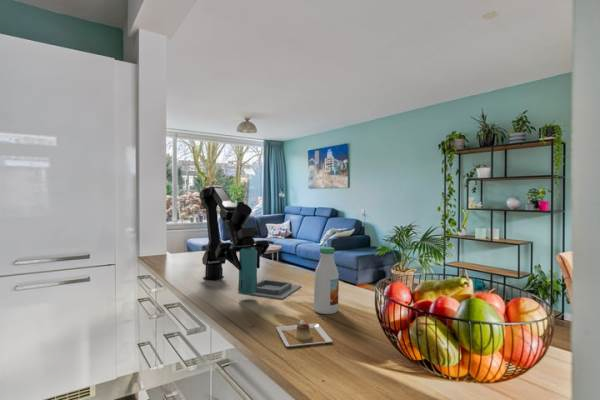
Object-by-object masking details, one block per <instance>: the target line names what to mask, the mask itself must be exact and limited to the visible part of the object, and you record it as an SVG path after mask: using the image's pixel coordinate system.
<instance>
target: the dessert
mask: <svg viewBox="0 0 600 400" xmlns="http://www.w3.org/2000/svg"><path fill="white" fill-rule="evenodd" d="M313 328H314V329H315V330H316V332H318V334H319V335H320V336H321V337H322V339H323V340H324V341H320V342H319V341H318V342H310V343H307V342H306V343H299V344H298V343H297V344H289V342H288V340H287V338H286V336H285V335H284V333H283V331H290V330H295V333H294V336H293V337H294V338H295V339H297V340H301V341H305V340H309V339H312V337H313V335H312V331H311V329H313ZM275 329H276V331H277V333H278V334H279V336H280V338H281V339H282V342H283V344H284V345H285V347H286V348H293V347H294V348H295V347H302V346H311V345H322V344H330V343H333V342H334V341H333V339H332V338H331V337H330V335H328V334H327V333H326V331H325V330H324V329H323V328H322V327H321V325H319V323H307V322H306V321H305V320H304V319H301V320H299V324H293V325H284V326H281V325H280V326H276V327H275Z"/></svg>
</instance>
